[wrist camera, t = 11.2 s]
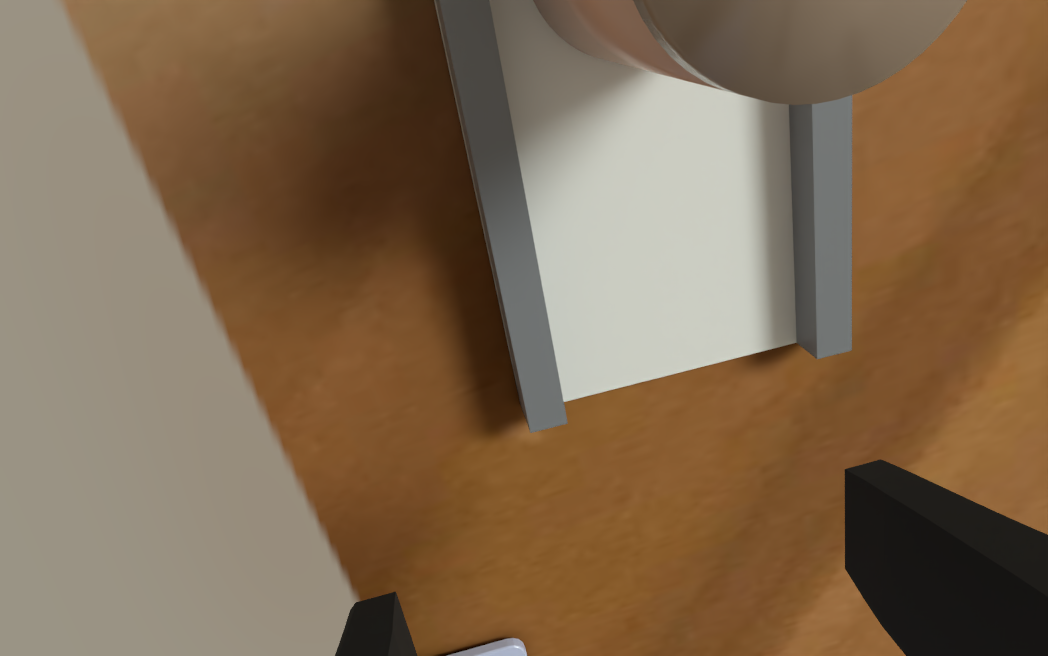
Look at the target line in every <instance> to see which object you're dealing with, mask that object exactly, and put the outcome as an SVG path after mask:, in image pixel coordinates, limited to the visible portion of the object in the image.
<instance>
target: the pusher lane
mask: <svg viewBox="0 0 1048 656" xmlns="http://www.w3.org/2000/svg"><path fill="white" fill-rule="evenodd" d="M434 2H435V7H436V11H437V16H438V21H439V25H440V30H441V35H442V40H443V44H444V49H445V54H446V58H447V63H448V68H449V72H450V77H451V82H452V86H453V91H454V96H455V100H456V105H457V110H458V115H459V119H460V124H461V129H462V133H463V138H464V143H465V147H466V152H467V157H468V161H469V166H470V171H471V175H472V180H473V185H474V189H475V194H476V199H477V204H478V208H479V213H480V218H481V222H482V227H483V232H484V236H485V241H486V246H487V250H488V255H489V260H490V264H491V269H492V274H493V278H494V283H495V288H496V293H497V297H498V302H499V307H500V311H501V316H502V321H503V325H504V330H505V335H506V339H507V344H508V349H509V353H510V358H511V363H512V368H513V372H514V377H515V382H516V386H517V391H518V396H519V400H520V405H521V408H522V411H523V413H524V416H525V419H526V422H527V424H528V427H529V430H530V433H532V432H536V431H540V430H544V429H548V428H552V427H556V426H559V425H563V424H567V418H566V412H565V407H564V402H566V401H570V400H573V399H577V398H581V397H585V396H589V395H593V394H597V393H601V392H605V391H609V390H613V389H617V388H621V387H624V386H628V385H632V384H636V383H640V382H644V381H648V380H652V379H656V378H660V377H664V376H668V375H672V374H676V373H679V372H683V371H687V370H691V369H695V368H699V367H703V366H707V365H711V364H715V363H719V362H723V361H727V360H730V359H734V358H738V357H742V356H746V355H750V354H754V353H758V352H762V351H766V350H770V349H774V348H778V347H782V346H785V345H789V344H793V343H798V344H799V345H800V346H801V347H803V348H804V349H805V350H806V351H808V352H809V353H810V354H811V355H813V356H814V357H815V358H816V359H820V358H823V357H827V356H831V355H835V354H839V353H843V352H847V351H851V350H852V95H850V96H847V97H844V98H841V99H838V100H833V101H828V102H823V103H818V104H803V105H789V104H779V103H770V102H767V101H763V100H759V99H755V98H751V97H747V96H743V95H739V94H735V93H731V92H727V91H724V90H720V89H716V88H712V87H708V86H704V85H700V84H696V83H692V82H688V81H684V80H681V79H677V78H673V77H669V76H665V75H661V74H657V73H653V72H649V71H645V70H641V69H638V68H634V67H630V66H626V65H622V64H618V63H614V62H610V61H606V60H602V59H598V58H595V57H592V56H590V55H588V54H585V53H583V52H581V51H579V50H578V49H576V48H574V47H573V46H571V45H569V44H568V43H567V42H566V41H564V40H563V39H562V38H561V37H560V36H558V35H557V33H556V32H555V31H554V30H553V29H552V28H551V27H550V26H549V25H548V24H547V22H546V21H545V19H544V18H543V17H542V15H541V14H540V12H539V10H538V9H537V7H536V5H535V3H534V1H533V0H434Z"/></svg>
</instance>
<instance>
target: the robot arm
mask: <svg viewBox="0 0 1048 656" xmlns="http://www.w3.org/2000/svg"><path fill="white" fill-rule="evenodd" d="M845 569H846V571H847V572H848V574H849V575H850V577H851V579H852V580H853V582H854V583H855V585H856V587H857V588H858V590H859V591H860V593H861V595H862V596H863V598H864V599H865V601H866V603H867V604H868V606H869V607H870V609H871V610H872V612H873V613H874V615H875V616H876V618H877V619H878V621H879V622H880V624H881V625H882V626H883V628H884V629H885V630H886V631H887V633H888V634H889V635H890V636H891V638H892V639H893V640H894V641H895V643H896V644H897V645H898V646H899V647H900V649H901V650H902V651H903V652H904V654H905V655H906V656H1048V535H1047V534H1045V533H1042V532H1040V531H1037V530H1035V529H1033V528H1031V527H1028V526H1026V525H1024V524H1021V523H1019V522H1017V521H1015V520H1012V519H1010V518H1008V517H1006V516H1004V515H1001V514H999V513H997V512H995V511H992V510H990V509H988V508H986V507H984V506H982V505H979V504H977V503H975V502H973V501H971V500H969V499H966V498H964V497H962V496H960V495H958V494H956V493H954V492H951V491H949V490H947V489H945V488H943V487H941V486H939V485H937V484H934V483H932V482H930V481H928V480H926V479H924V478H921V477H919V476H917V475H915V474H913V473H911V472H908V471H906V470H904V469H902V468H900V467H897V466H895V465H893V464H890V463H888V462H886V461H883V460H877V461H874V462H870V463H866V464H863V465H859V466H855V467H852V468H848V469H845ZM335 656H417V653H416V650H415V647H414V644H413V641H412V638H411V635H410V632H409V629H408V627H407V624H406V621H405V618H404V615H403V612H402V609H401V606H400V603H399V600H398V597H397V594H396V592H393V593H389V594H386V595H382V596H378V597H375V598H371V599H367V600H364V601H360V602H356V603H355V604H354V606H353V607H352V609H351V610H350V613H349V616H348V619H347V622H346V626H345V629H344V632H343V634H342V637H341V641H340V643H339V646H338V649H337V652H336V654H335ZM447 656H527V653H526V649H525V645H524V644H523V642H522V641H520V640H519V639H515V638H508V639H504V640H500V641H497V642H493V643H490V644H486V645H483V646H479V647H476V648H472V649H468V650H465V651H461V652H458V653H454V654H451V655H447Z"/></svg>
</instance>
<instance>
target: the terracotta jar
mask: <svg viewBox="0 0 1048 656" xmlns="http://www.w3.org/2000/svg"><path fill="white" fill-rule="evenodd" d="M533 1H534V3H535V5H536V7H537V9H538V10H539V12H540V14H541V15H542V17H543V18H544V19H545V21H546V22H547V24H548V25H549V26H550V27H551V28H552V29H553V30H554V31H555V32H556V33H557V35H558V36H560V37H561V38H562V39H563V40H564V41H566V42H567V43H568V44H569V45H571V46H573V47H574V48H576V49H578V50H579V51H581V52H583V53H585V54H588V55H590V56H592V57H595V58H598V59H602V60H606V61H610V62H614V63H618V64H622V65H626V66H630V67H634V68H638V69H641V70H645V71H649V72H653V73H657V74H661V75H665V76H669V77H673V78H677V79H681V80H684V81H688V82H692V83H696V84H700V85H704V86H708V87H712V88H716V89H720V90H724V91H727V92H731V93H735V94H739V95H743V96H747V97H751V98H755V99H759V100H763V101H767V102H770V103H779V104H789V105H803V104H818V103H823V102H828V101H833V100H838V99H841V98H844V97H847V96H850V95H853V94H856V93H859V92H862V91H864V90H866V89H868V88H870V87H872V86H874V85H876V84H878V83H880V82H882V81H884V80H885V79H887V78H889V77H890V76H892V75H893V74H895V73H896V72H898V71H900V70H901V69H903V68H904V67H905V66H907V65H908V64H909V63H910V62H911V61H913V60H914V59H915V58H916V57H918V56H919V55H920V54H921V53H923V52H924V51H925V50H926V49H927V48H928V47H929V46H930V45H931V44H932V43H933V42H934V41H935V40H936V39H937V38H938V37H939V36H940V35H941V34H942V32H943V31H944V30H945V29H946V28H947V26H948V25H949V24H950V23H951V21H952V20H953V19H954V18H955V17H956V15H957V14H958V13H959V11H960V10H961V8H962V7H963V5H964V4H965V2H966V1H967V0H533Z"/></svg>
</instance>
